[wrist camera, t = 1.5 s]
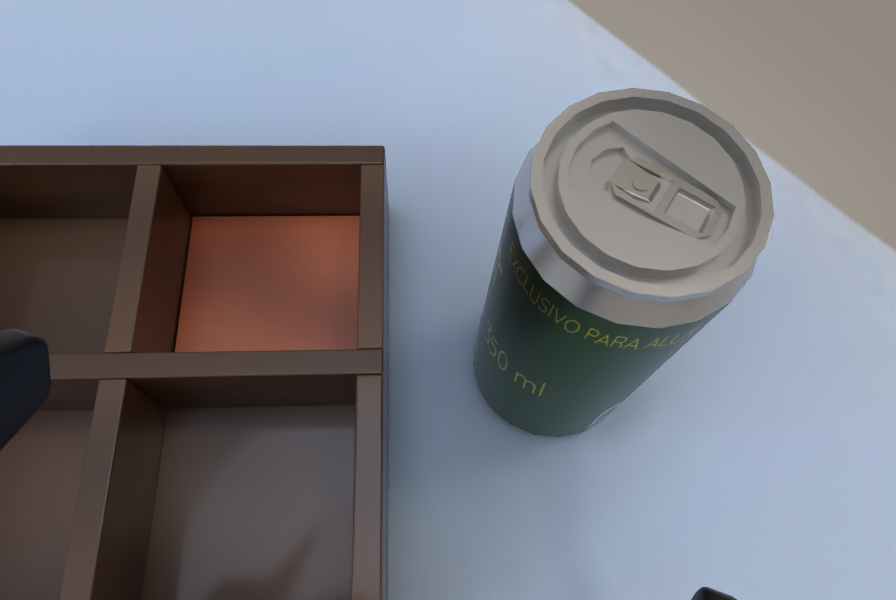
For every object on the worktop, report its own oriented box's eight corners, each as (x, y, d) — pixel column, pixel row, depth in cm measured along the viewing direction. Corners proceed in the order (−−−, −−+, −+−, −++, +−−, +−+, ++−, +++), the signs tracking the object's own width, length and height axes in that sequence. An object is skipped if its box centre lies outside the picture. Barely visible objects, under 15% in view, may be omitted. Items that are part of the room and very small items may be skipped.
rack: (387, 644, 21) (381, 656, 17) (-144, 665, 20) (-272, 681, 16) (388, 207, 27) (384, 144, 23) (-16, 209, 26) (-89, 144, 22)
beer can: (644, 348, 25) (824, 158, 14) (574, 472, 23) (719, 363, 12) (520, 274, 26) (597, 42, 15) (442, 386, 24) (467, 214, 13)
